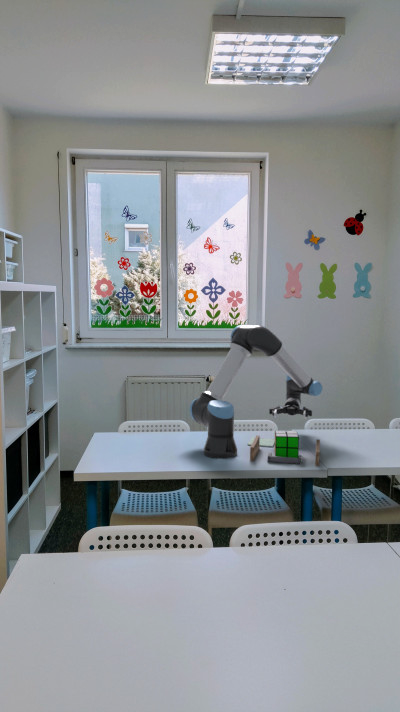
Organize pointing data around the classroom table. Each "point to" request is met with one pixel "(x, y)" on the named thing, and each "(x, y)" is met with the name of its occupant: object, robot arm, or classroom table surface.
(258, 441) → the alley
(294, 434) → the puzzle cube
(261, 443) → the mat
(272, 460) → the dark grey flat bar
